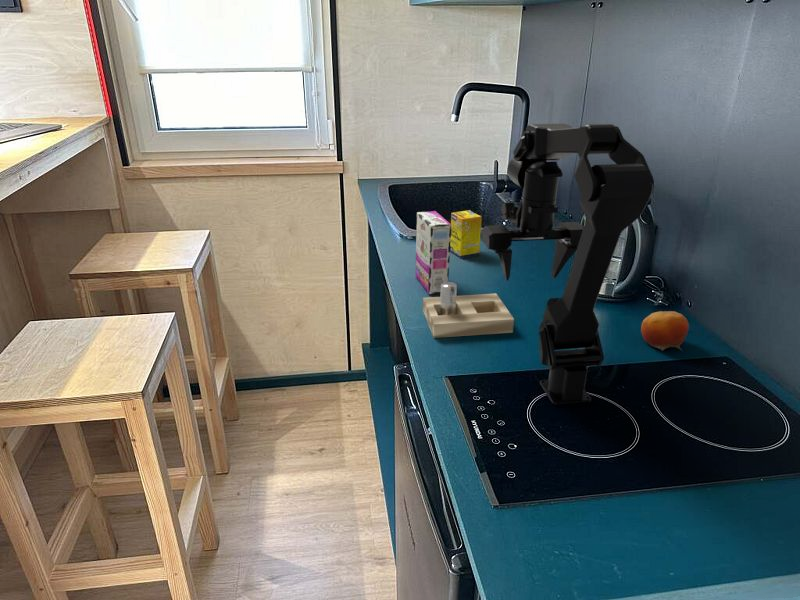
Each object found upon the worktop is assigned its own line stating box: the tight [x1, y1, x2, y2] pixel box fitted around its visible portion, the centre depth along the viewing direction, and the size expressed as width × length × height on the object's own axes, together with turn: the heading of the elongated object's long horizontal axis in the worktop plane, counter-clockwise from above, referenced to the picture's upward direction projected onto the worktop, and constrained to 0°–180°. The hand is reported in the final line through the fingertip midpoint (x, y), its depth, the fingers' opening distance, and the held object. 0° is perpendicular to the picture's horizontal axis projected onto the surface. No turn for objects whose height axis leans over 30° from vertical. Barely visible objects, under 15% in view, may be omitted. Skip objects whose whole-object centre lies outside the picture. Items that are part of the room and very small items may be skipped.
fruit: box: [640, 310, 690, 352], centre depth 106 cm, size 8×8×8 cm
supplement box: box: [450, 209, 483, 259], centre depth 149 cm, size 6×6×11 cm
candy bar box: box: [415, 210, 451, 295], centre depth 129 cm, size 11×5×16 cm, turn 15°
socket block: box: [422, 293, 515, 339], centre depth 115 cm, size 12×16×3 cm
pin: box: [439, 281, 458, 315], centre depth 114 cm, size 3×3×8 cm
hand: (530, 278), depth 106 cm, fingers open, 9 cm apart
